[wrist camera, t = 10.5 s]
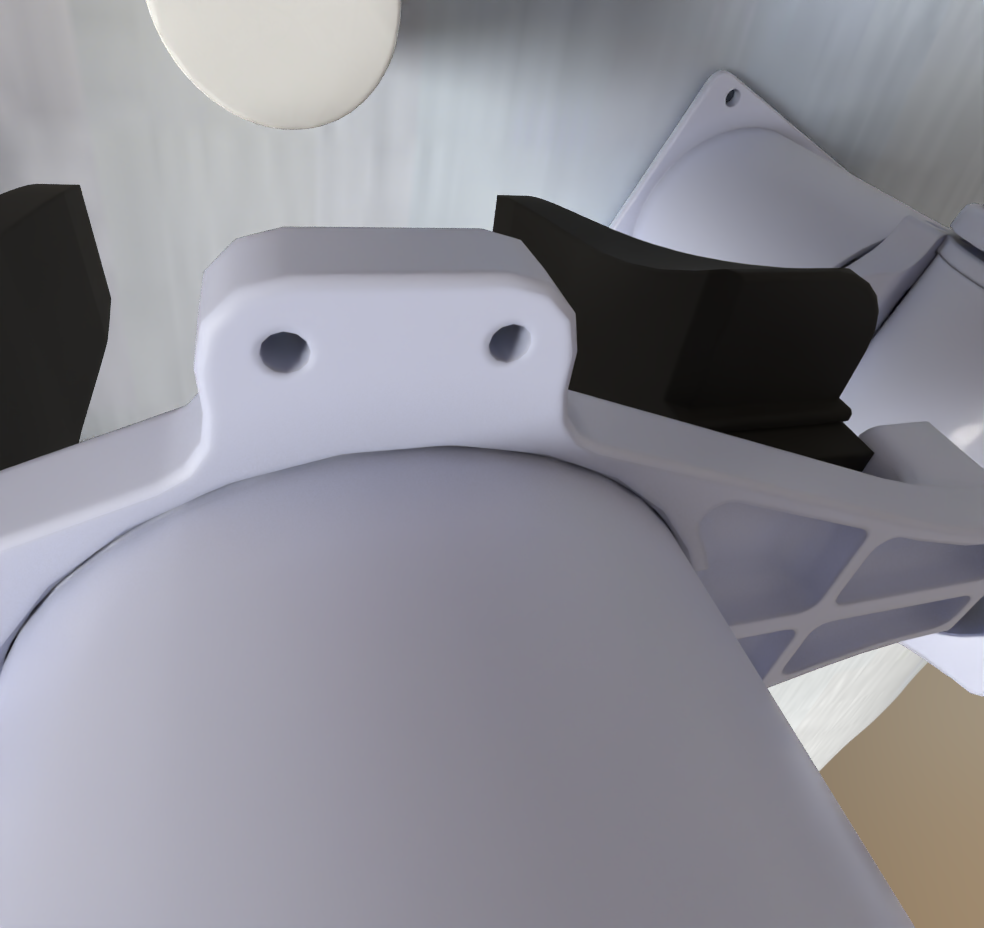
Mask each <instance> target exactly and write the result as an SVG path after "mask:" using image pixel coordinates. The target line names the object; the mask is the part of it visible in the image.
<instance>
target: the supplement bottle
mask: <svg viewBox="0 0 984 928" xmlns="http://www.w3.org/2000/svg"><path fill="white" fill-rule="evenodd" d="M145 1H146V4H147V6H148V8H149V11H150V15H151V18H152V20H153V23H154V25H155V27H156V29H157V32H158V34H159V36H160V38H161V40H162V42H163V43H164V45H165V47H166V49H167V50H168V52H169V53H170V55H171V56H172V58H173V59H174V61H175V62H176V64H177V65H178V66H179V68H180V69H181V70H182V71H183V72H184V74H185V75H186V76H187V77H188V78H189V79H190V80H191V82H192V83H193V84H194V85H195V86H196V87H197V88H199V89H200V90H201V91H202V92H203V93H204V94H205V95H206V96H207V97H209V98H210V99H211V100H212V101H214V102H215V103H217V104H218V105H220V106H221V107H223V108H224V109H226V110H228V111H229V112H231V113H233V114H235V115H237V116H239V117H241V118H243V119H245V120H248V121H251V122H253V123H255V124H259V125H263V126H266V127H271V128H277V129H290V130H294V129H309V128H314V127H319V126H323V125H325V124H328V123H331V122H334V121H336V120H338V119H340V118H342V117H344V116H345V115H347V114H349V113H350V112H352V111H353V110H354V109H356V108H357V107H358V106H359V105H360V104H361V103H363V102H364V101H365V100H366V99H367V98H368V97H369V96H370V94H371V93H372V92H373V91H374V89H375V88H376V87H377V85H378V84H379V82H380V81H381V79H382V77H383V76H384V74H385V72H386V70H387V68H388V66H389V64H390V61H391V59H392V56H393V53H394V50H395V46H396V43H397V38H398V32H399V26H400V17H401V0H145Z"/></svg>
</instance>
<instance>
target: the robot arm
mask: <svg viewBox="0 0 984 928" xmlns="http://www.w3.org/2000/svg"><path fill="white" fill-rule="evenodd" d="M731 90H734V96H733V98H732V99H731V100H730V101H729V102H728V103H726V97H727V95H728V93H729V92H730V91H731ZM950 226H951V228H952V229H951V228H948V227H945V226H943V225H941V224H939V223H938V222H936V221H934V220H932V219H930V218H929V217H927V216H925V215H923V214H922V213H920V212H918V211H916V210H914V209H913V208H911V207H909V206H907V205H906V204H904V203H902V202H900V201H898V200H897V199H895V198H893V197H891V196H890V195H888V194H886V193H884V192H882V191H881V190H879V189H877V188H875V187H873V186H872V185H870V184H868V183H866V182H865V181H863V180H861V179H859V178H857V177H856V176H854V175H852V174H850V173H849V172H848V171H847V170H846V169H844V168H843V167H842V166H841V165H840V164H839V163H837V162H836V161H835V160H834V159H833V158H832V157H830V156H829V155H828V154H827V153H826V152H824V151H823V150H822V149H821V148H820V147H819V146H817V145H816V144H815V143H814V142H813V141H811V140H810V139H809V138H808V137H807V136H806V135H804V134H803V133H802V132H801V131H800V130H798V129H797V128H796V127H795V126H794V125H793V124H791V123H790V122H789V121H788V120H787V119H785V118H784V117H783V116H782V115H781V114H780V113H778V112H777V111H776V110H775V109H774V108H772V107H771V106H770V105H769V104H768V103H767V102H765V101H764V100H763V99H762V98H761V97H759V96H758V95H757V94H756V93H755V92H754V91H752V90H751V89H750V88H749V87H748V86H747V85H745V84H744V83H743V82H742V81H741V80H739V79H738V78H737V77H736V76H735V75H734V74H732V73H730V72H728V71H725V70H718V71H716V72H715V73H713V74H712V75H711V76H710V77H709V78H708V79H707V81H706V82H705V84H704V85H703V87H702V88H701V90H700V91H699V93H698V94H697V96H696V97H695V99H694V100H693V102H692V103H691V105H690V106H689V108H688V109H687V111H686V112H685V114H684V115H683V117H682V118H681V120H680V121H679V123H678V124H677V126H676V127H675V129H674V130H673V132H672V133H671V135H670V136H669V138H668V139H667V141H666V142H665V144H664V145H663V147H662V148H661V150H660V151H659V153H658V154H657V156H656V157H655V159H654V160H653V162H652V163H651V165H650V166H649V168H648V169H647V171H646V172H645V174H644V175H643V177H642V178H641V180H640V181H639V183H638V184H637V186H636V187H635V189H634V190H633V192H632V193H631V195H630V196H629V198H628V199H627V200H626V202H625V203H624V205H623V206H622V208H621V209H620V211H619V212H618V214H617V215H616V217H615V218H614V220H613V221H612V223H611V224H610V226H609V227H606V226H604V225H602V224H599V223H597V222H595V221H592V220H590V219H588V218H586V217H583V216H581V215H579V214H577V213H574V212H572V211H570V210H568V209H565V208H563V207H561V206H559V205H556V204H554V203H551V202H549V201H546V200H543V199H540V198H536V197H532V196H512V195H497V202H496V210H495V218H494V226H493V232H492V231H488V230H485V229H479V228H375V227H280V228H276V229H272V230H268V231H264V232H260V233H256V234H252V235H248V236H244V237H240V238H236V239H235V240H234V241H233V242H232V243H231V244H230V245H229V246H228V247H227V248H226V249H225V250H224V251H223V252H222V253H221V254H220V255H219V256H218V257H217V258H216V259H215V260H214V261H213V262H212V263H211V264H210V265H209V266H208V267H207V268H206V269H205V270H204V273H203V280H202V287H201V295H200V302H199V309H198V319H197V332H196V344H195V357H194V373H195V378H196V383H197V388H198V393H197V394H196V395H195V396H194V398H193V399H192V400H191V401H190V402H189V403H188V404H187V405H185V406H183V407H180V408H177V409H174V410H171V411H169V412H166V413H163V414H160V415H157V416H154V417H152V418H149V419H146V420H143V421H140V422H137V423H134V424H132V425H129V426H126V427H123V428H120V429H117V430H115V431H112V432H109V433H106V434H103V435H100V436H97V437H95V438H92V439H89V440H86V441H83V442H80V443H79V439H80V435H81V430H82V427H83V424H84V420H85V417H86V414H87V410H88V407H89V404H90V400H91V397H92V393H93V390H94V387H95V383H96V380H97V377H98V373H99V370H100V366H101V363H102V359H103V356H104V352H105V348H106V345H107V340H108V331H109V321H110V306H111V296H110V293H109V289H108V285H107V282H106V278H105V275H104V271H103V267H102V264H101V260H100V257H99V253H98V249H97V246H96V242H95V238H94V235H93V231H92V228H91V224H90V220H89V217H88V213H87V210H86V206H85V202H84V199H83V195H82V191H81V188H80V185H60V184H32V185H26V186H23V187H19V188H16V189H14V190H11V191H8V192H6V193H3V194H1V195H0V928H915V927H914V925H913V924H912V922H911V920H910V919H909V917H908V915H907V914H906V912H905V911H904V909H903V907H902V906H901V904H900V902H899V901H898V899H897V898H896V896H895V894H894V893H893V891H892V890H891V888H890V886H889V885H888V883H887V881H886V880H885V879H884V877H883V875H882V873H881V872H880V870H879V869H878V867H877V865H876V864H875V862H874V860H873V859H872V857H871V856H870V854H869V853H868V851H867V849H866V847H865V846H864V844H863V843H862V841H861V839H860V838H859V836H858V834H857V833H856V831H855V830H854V828H853V827H852V825H851V823H850V822H849V820H848V818H847V817H846V815H845V813H844V812H843V810H842V809H841V807H840V805H839V804H838V802H837V800H836V799H835V797H834V796H833V794H832V793H831V791H830V789H829V787H828V786H827V784H826V783H825V781H824V779H823V778H822V776H821V774H820V773H819V771H818V770H817V768H816V766H815V765H814V763H813V762H812V760H811V758H810V757H809V755H808V753H807V752H806V750H805V749H804V747H803V745H802V744H801V742H800V740H799V739H798V737H797V736H796V734H795V732H794V731H793V729H792V728H791V726H790V724H789V723H788V721H787V719H786V718H785V716H784V715H783V713H782V711H781V710H780V708H779V706H778V705H777V703H776V702H775V700H774V698H773V697H772V695H771V694H770V692H769V690H768V689H767V688H769V687H771V686H774V685H776V684H779V683H782V682H784V681H787V680H790V679H792V678H795V677H798V676H800V675H803V674H805V673H808V672H811V671H813V670H816V669H819V668H822V667H824V666H827V665H830V664H833V663H836V662H838V661H841V660H844V659H847V658H850V657H853V656H855V655H858V654H861V653H864V652H868V651H871V650H874V649H878V648H881V647H884V646H888V645H891V644H894V643H899V644H901V645H903V646H904V647H906V648H908V649H909V650H911V651H912V652H914V653H915V654H917V655H918V656H920V657H922V658H923V659H924V660H926V661H927V662H929V663H930V664H932V665H933V666H934V667H936V668H937V669H939V670H940V671H941V672H943V673H944V674H946V675H947V676H949V677H951V678H952V679H953V680H954V681H956V682H957V683H958V684H960V685H961V686H962V687H963V688H965V689H966V690H967V691H968V692H970V693H972V694H975V695H979V696H984V205H982V204H977V203H972V204H969V205H966V206H965V207H964V208H963V209H962V210H961V212H960V213H959V214H958V215H957V217H956V218H955V219H954V221H953V222H952V223H951V225H950Z"/></svg>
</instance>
